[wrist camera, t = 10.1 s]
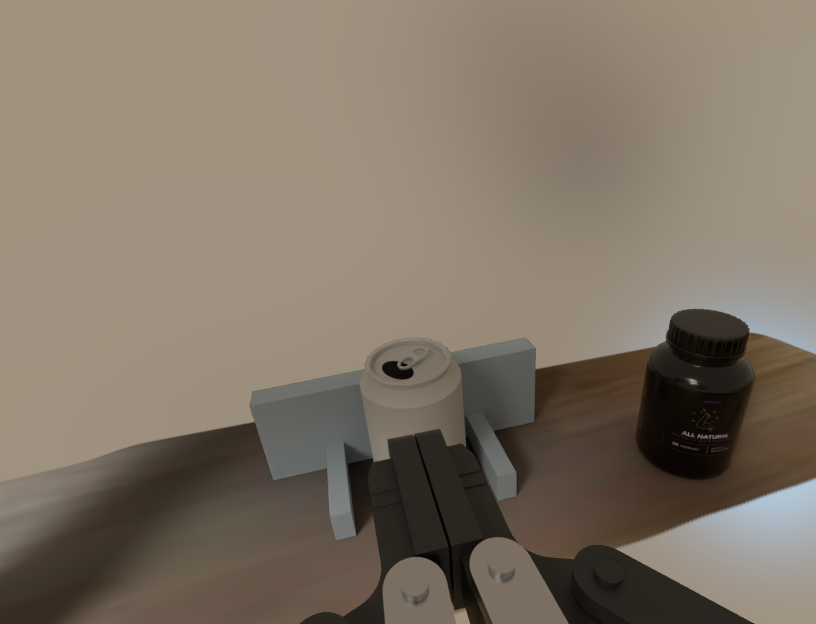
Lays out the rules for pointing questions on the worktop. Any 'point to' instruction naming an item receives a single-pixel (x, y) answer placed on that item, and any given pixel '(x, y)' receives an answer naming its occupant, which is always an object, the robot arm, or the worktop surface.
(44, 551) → the worktop surface
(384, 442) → the can
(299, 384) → the stop bay
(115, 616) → the worktop surface
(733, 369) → the supplement bottle
